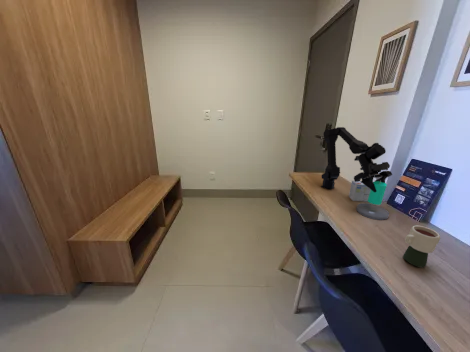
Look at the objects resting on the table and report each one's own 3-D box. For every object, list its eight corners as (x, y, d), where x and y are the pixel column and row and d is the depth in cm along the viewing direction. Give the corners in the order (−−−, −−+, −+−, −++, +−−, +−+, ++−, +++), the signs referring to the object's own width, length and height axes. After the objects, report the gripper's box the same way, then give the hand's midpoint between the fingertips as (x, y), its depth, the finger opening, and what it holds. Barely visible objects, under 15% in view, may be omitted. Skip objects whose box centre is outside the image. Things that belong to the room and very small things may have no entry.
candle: (375, 199, 106) (381, 178, 102) (384, 204, 101) (391, 182, 97) (364, 199, 106) (370, 178, 102) (373, 205, 100) (379, 182, 96)
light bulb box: (366, 197, 123) (370, 181, 120) (371, 202, 117) (376, 185, 113) (347, 196, 124) (351, 180, 121) (352, 201, 118) (356, 184, 114)
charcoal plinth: (351, 210, 107) (352, 207, 106) (364, 204, 114) (364, 201, 114) (380, 222, 96) (381, 219, 95) (392, 215, 103) (393, 211, 103)
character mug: (420, 255, 75) (432, 225, 71) (438, 270, 68) (452, 238, 64) (391, 254, 75) (401, 224, 71) (405, 269, 69) (417, 237, 64)
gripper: (363, 156, 97) (378, 186, 90) (394, 155, 101) (409, 184, 95) (348, 167, 107) (359, 195, 100) (376, 165, 111) (389, 192, 105)
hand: (379, 191), depth 100 cm, fingers closed on candle, 5 cm apart
